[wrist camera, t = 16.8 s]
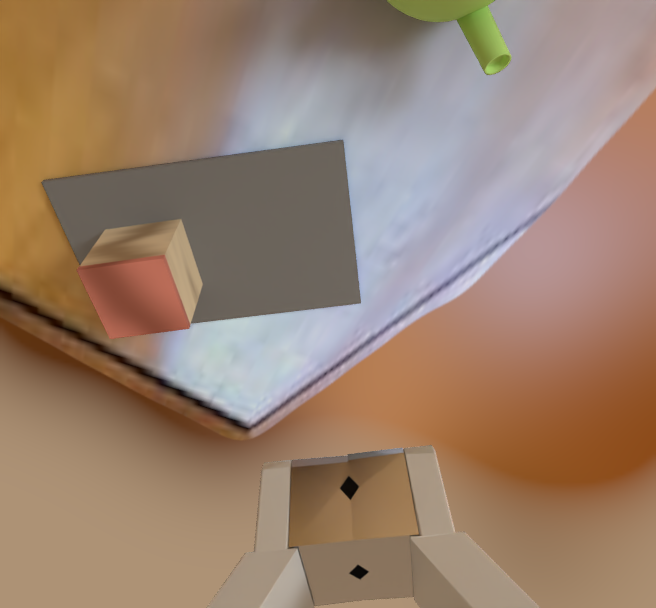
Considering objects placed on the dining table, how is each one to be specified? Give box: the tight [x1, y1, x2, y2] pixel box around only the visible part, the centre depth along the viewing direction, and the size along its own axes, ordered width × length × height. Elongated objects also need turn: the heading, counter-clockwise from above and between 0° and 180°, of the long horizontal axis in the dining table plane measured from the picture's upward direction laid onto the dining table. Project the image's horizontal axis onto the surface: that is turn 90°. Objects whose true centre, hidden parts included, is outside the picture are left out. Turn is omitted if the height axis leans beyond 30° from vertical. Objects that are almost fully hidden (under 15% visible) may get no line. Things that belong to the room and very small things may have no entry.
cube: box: [77, 219, 203, 339], centre depth 39 cm, size 6×6×6 cm
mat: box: [42, 140, 361, 323], centre depth 41 cm, size 22×14×1 cm, turn 97°
